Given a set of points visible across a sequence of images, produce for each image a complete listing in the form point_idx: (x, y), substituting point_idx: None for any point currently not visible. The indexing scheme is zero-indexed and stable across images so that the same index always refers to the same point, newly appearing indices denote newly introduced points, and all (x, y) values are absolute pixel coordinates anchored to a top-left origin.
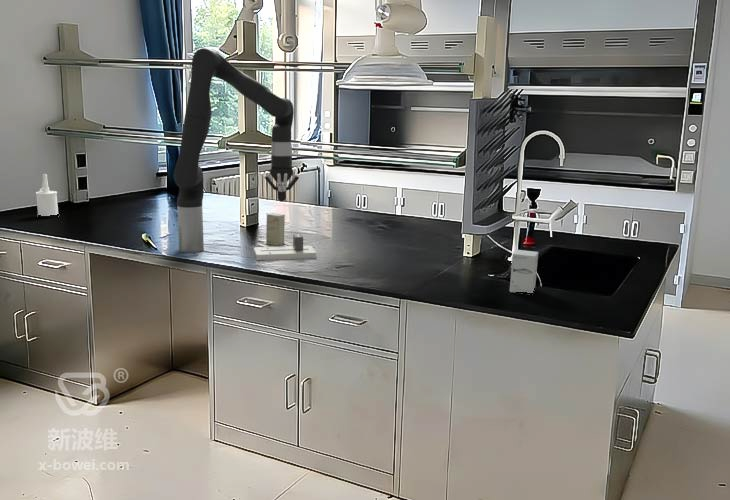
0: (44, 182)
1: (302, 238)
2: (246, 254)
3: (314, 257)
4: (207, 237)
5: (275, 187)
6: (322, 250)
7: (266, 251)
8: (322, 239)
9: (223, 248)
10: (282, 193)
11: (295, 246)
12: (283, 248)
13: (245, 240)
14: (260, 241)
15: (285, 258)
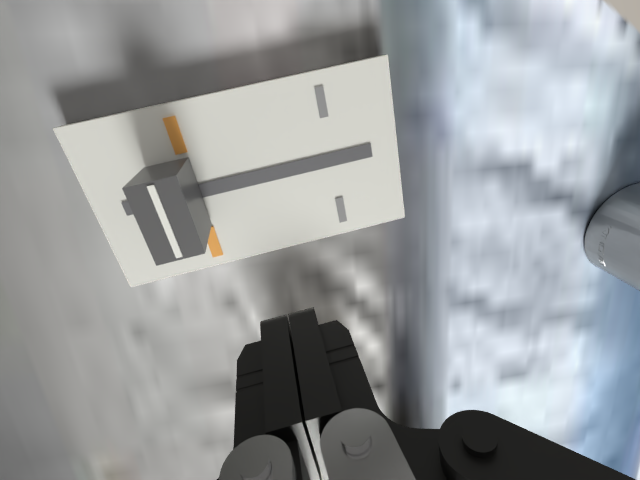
0: None
1: (129, 185)
2: (426, 174)
3: (75, 122)
4: (548, 404)
5: (475, 464)
6: (79, 285)
7: (341, 138)
8: (132, 457)
9: (511, 266)
10: (289, 397)
11: (183, 162)
12: (261, 211)
13: (428, 390)
14: (375, 387)
15: (234, 87)
